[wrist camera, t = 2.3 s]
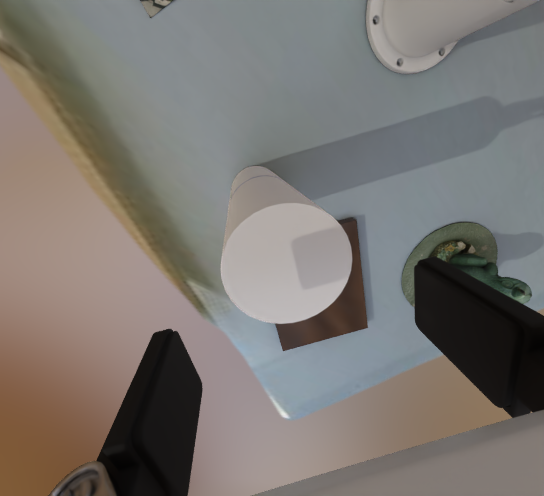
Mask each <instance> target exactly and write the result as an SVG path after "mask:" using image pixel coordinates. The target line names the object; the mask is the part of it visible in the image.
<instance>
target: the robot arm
mask: <svg viewBox="0 0 544 496" xmlns="http://www.w3.org/2000/svg"><path fill="white" fill-rule="evenodd" d="M538 1H540V0H368V3H367V12H366V28H367V34H368V39H369V42H370V45H371V47H372V50H373V52H374V53H375V55H376V57H377V58H378V60H379V61H380V62H381V63H382V64H383V65H384V66H385V67H387V68H388V69H390V70H391V71H394V72H397V73H400V74H414V73H418V72H421V71H424V70H426V69H429V68H431V67H433V66H434V65H436V64H437V63H439V62H440V61H441V60H443V58H444V57H445V56H446V55H447V54H448V53H449V52H450V51H451V50H452V48H453V47H454V46H455V44H456V43H457V41H458V40H459V39H461V38H463V37H465V36H467V35H469V34H471V33H474V32H476V31H478V30H480V29H482V28H484V27H486V26H488V25H490V24H492V23H494V22H497V21H499V20H501V19H503V18H505V17H507V16H509V15H511V14H513V13H515V12H517V11H520V10H522V9H524V8H526V7H528V6H530V5H532V4H534V3H536V2H538ZM373 21H374V23H373ZM397 64H398V65H397ZM414 297H415V323H416V325H417V327H418V329H419V330H420V331H421V332H422V333H423V334H424V335H425V336H426V337H427V338H428V339H429V340H430V341H431V342H432V343H433V344H434V345H435V346H436V347H437V348H438V349H439V350H440V351H441V352H442V353H443V354H444V355H445V356H446V357H447V358H448V359H449V360H450V361H451V362H452V363H453V364H454V365H455V366H456V367H457V368H458V369H459V370H460V371H461V372H462V373H463V374H464V375H465V376H466V377H467V378H468V379H469V380H470V381H471V382H472V383H473V384H474V385H475V386H476V387H477V388H478V389H479V390H480V391H481V392H482V393H483V394H484V395H485V396H486V397H487V398H488V399H489V400H490V401H491V402H492V403H493V404H494V405H495V406H497V407H499V408H503V409H504V410H505V411H506V412H507V413H508V414H509V415H510V416H511V417H512V418H511V419H508V420H505V421H501V422H498V423H495V424H491V425H487V426H484V427H480V428H477V429H474V430H470V431H467V432H463V433H460V434H456V435H453V436H449V437H446V438H442V439H439V440H436V441H432V442H429V443H426V444H422V445H419V446H415V447H412V448H408V449H405V450H402V451H398V452H395V453H392V454H388V455H385V456H382V457H378V458H375V459H371V460H368V461H365V462H361V463H358V464H355V465H351V466H348V467H345V468H341V469H338V470H334V471H331V472H328V473H324V474H321V475H318V476H314V477H311V478H308V479H304V480H301V481H298V482H295V483H291V484H288V485H285V486H281V487H278V488H275V489H272V490H268V491H265V492H262V493H258V494H255V495H252V496H544V316H543V315H541V314H540V313H538V312H536V311H534V310H532V309H531V308H529V307H527V306H525V305H523V304H521V303H520V302H518V301H516V300H514V299H512V298H511V297H509V296H507V295H505V294H503V293H501V292H500V291H498V290H496V289H494V288H492V287H491V286H489V285H487V284H485V283H483V282H482V281H480V280H478V279H476V278H474V277H472V276H471V275H469V274H467V273H465V272H463V271H462V270H460V269H458V268H456V267H454V266H453V265H451V264H449V263H447V262H445V261H443V260H442V259H440V258H438V257H435V256H433V257H429V258H426V259H422V260H419V261H418V263H417V265H415V267H414ZM201 397H202V382H201V379H200V377H199V375H198V373H197V371H196V369H195V367H194V365H193V363H192V361H191V358H190V356H189V354H188V352H187V350H186V348H185V346H184V344H183V342H182V340H181V338H180V335H179V333H178V332H177V331H174V332H173V330H172V329H166V330H163V331H159V332H155V333H154V334H153V336H152V338H151V340H150V342H149V345H148V347H147V349H146V351H145V353H144V356H143V358H142V360H141V363H140V365H139V367H138V369H137V372H136V374H135V376H134V378H133V380H132V382H131V385H130V387H129V389H128V391H127V393H126V396H125V398H124V400H123V402H122V405H121V407H120V409H119V412H118V414H117V416H116V418H115V420H114V423H113V425H112V427H111V429H110V432H109V434H108V436H107V438H106V440H105V443H104V445H103V447H102V449H101V452H100V454H99V456H98V458H97V461H92V462H87V463H85V464H83V465H81V466H79V467H77V468H76V469H74V470H73V471H72V472H70V473H69V474H67V475H66V476H65V477H64V478H63V479H62V480H61V481H60V482H59V483H58V484H57V485H56V487H55V488H54V489H53V490H52V491H51V493H50V494H49V495H48V496H187V495H188V489H189V482H190V475H191V468H192V461H193V453H194V447H195V439H196V432H197V425H198V418H199V411H200V404H201ZM531 411H532V412H533V413H530V412H531ZM529 413H530V414H529Z"/></svg>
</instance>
